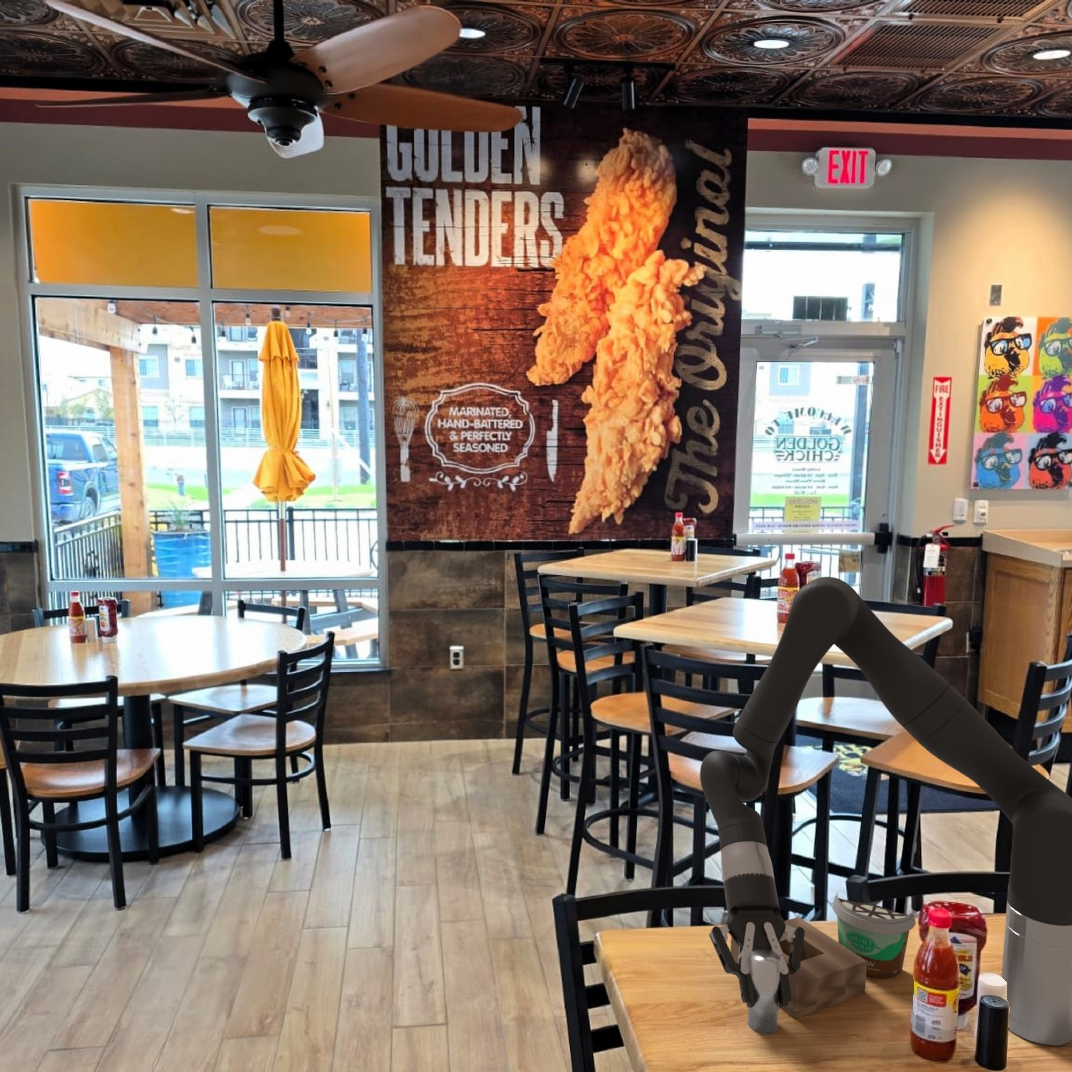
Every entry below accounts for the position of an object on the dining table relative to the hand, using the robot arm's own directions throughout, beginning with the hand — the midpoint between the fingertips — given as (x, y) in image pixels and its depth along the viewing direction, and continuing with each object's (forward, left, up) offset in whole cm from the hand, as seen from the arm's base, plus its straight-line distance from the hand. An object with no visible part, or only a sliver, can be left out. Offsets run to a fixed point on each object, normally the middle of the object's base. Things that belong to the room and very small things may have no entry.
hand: (767, 1005), depth 123 cm
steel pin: (-1, -2, -4) cm, 5 cm away
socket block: (-13, -8, -4) cm, 16 cm away
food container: (-25, -5, -4) cm, 26 cm away
